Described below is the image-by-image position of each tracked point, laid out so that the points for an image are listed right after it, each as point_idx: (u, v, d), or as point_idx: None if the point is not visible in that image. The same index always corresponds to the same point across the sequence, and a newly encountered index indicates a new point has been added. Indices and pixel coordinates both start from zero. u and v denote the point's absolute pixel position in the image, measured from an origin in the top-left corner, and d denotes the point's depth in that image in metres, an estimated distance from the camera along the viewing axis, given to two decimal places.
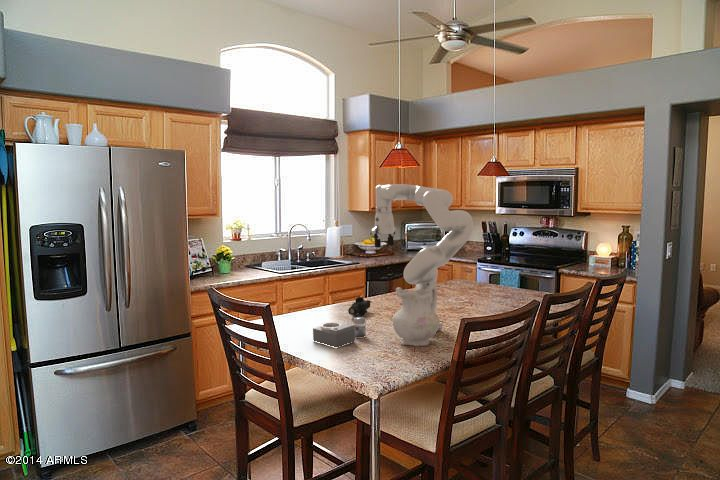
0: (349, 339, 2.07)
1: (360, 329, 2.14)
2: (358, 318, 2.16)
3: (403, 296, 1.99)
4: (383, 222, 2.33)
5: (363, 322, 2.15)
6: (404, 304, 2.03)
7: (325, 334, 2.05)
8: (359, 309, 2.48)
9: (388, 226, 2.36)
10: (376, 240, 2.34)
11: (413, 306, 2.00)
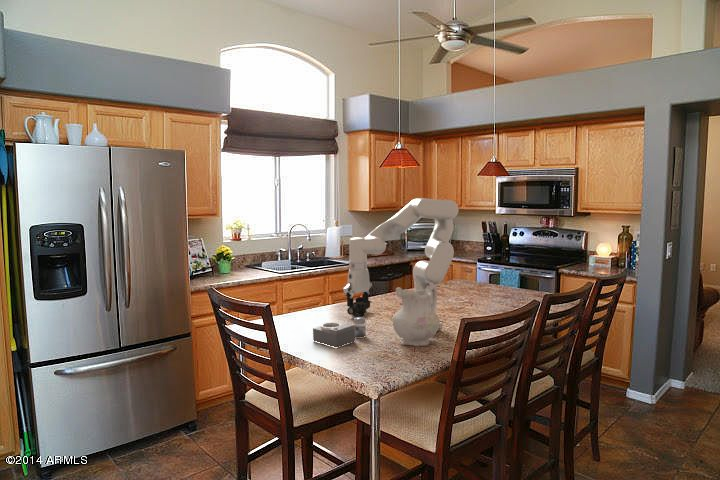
0: (349, 339, 2.07)
1: (360, 329, 2.14)
2: (358, 318, 2.16)
3: (403, 296, 1.99)
4: (357, 279, 2.10)
5: (363, 322, 2.15)
6: (404, 304, 2.03)
7: (325, 334, 2.05)
8: (358, 309, 2.49)
9: (362, 283, 2.13)
10: (348, 299, 2.11)
11: (413, 306, 2.00)
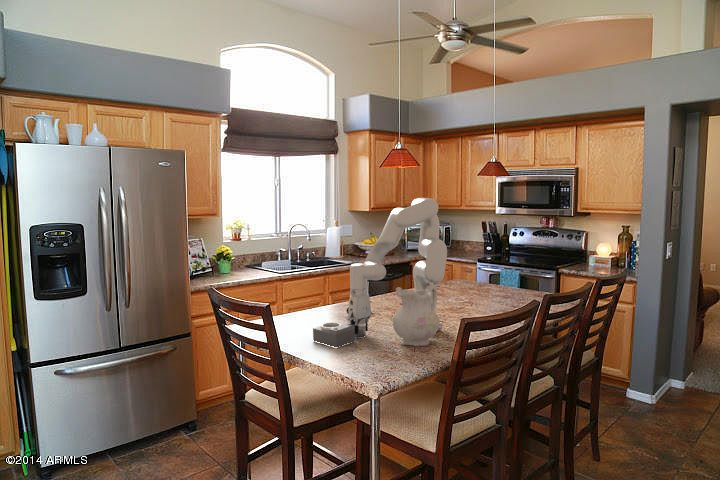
0: (349, 339, 2.07)
1: (360, 329, 2.14)
2: None
3: (403, 296, 1.99)
4: (358, 306, 2.11)
5: (363, 322, 2.15)
6: (404, 304, 2.03)
7: (325, 334, 2.05)
8: None
9: (364, 309, 2.14)
10: None
11: (413, 306, 2.00)
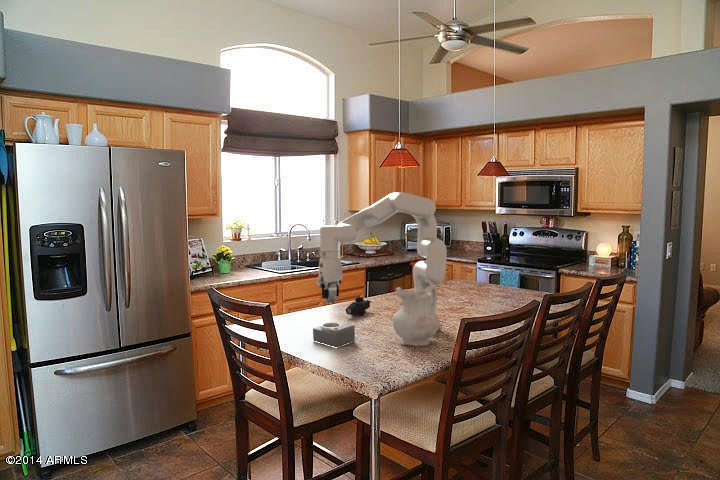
0: (349, 339, 2.07)
1: (330, 293, 2.06)
2: None
3: (403, 296, 1.99)
4: (328, 268, 2.03)
5: (334, 286, 2.06)
6: (404, 304, 2.03)
7: (325, 334, 2.05)
8: (357, 309, 2.49)
9: (334, 272, 2.06)
10: (323, 290, 2.05)
11: (413, 306, 2.00)
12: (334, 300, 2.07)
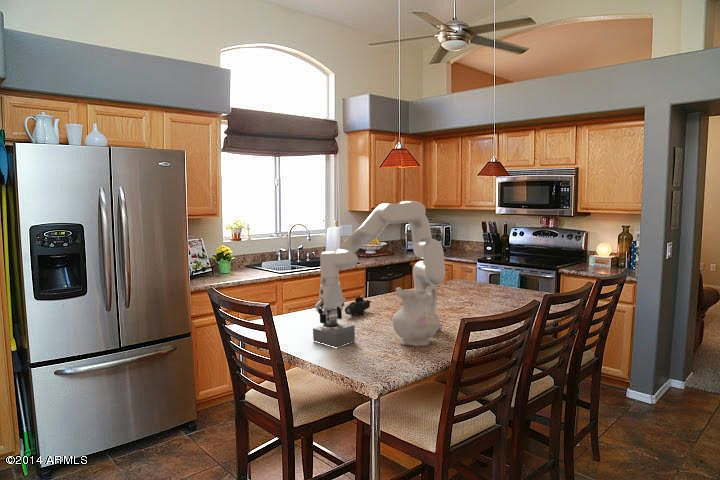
0: (349, 339, 2.07)
1: (331, 320, 2.07)
2: (329, 309, 2.09)
3: (403, 296, 1.99)
4: (328, 295, 2.04)
5: (334, 313, 2.08)
6: (404, 304, 2.03)
7: (325, 334, 2.05)
8: (356, 309, 2.49)
9: (335, 299, 2.07)
10: (321, 315, 2.05)
11: (413, 306, 2.00)
12: None
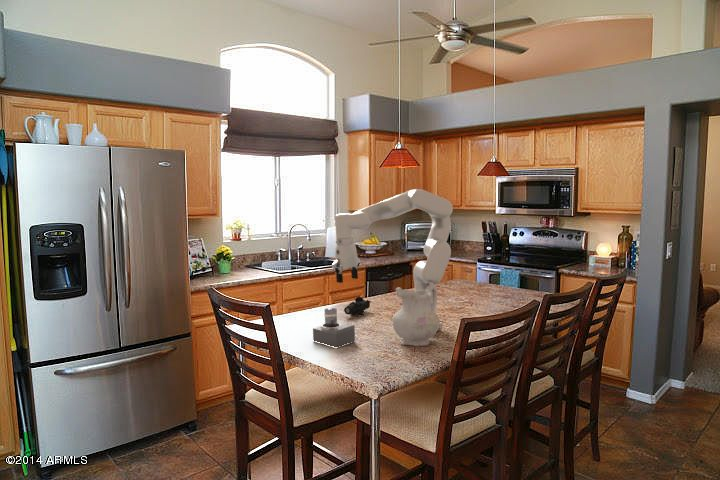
0: (349, 339, 2.07)
1: (331, 320, 2.07)
2: (329, 308, 2.09)
3: (403, 296, 1.99)
4: (344, 255, 2.11)
5: (334, 312, 2.08)
6: (404, 304, 2.03)
7: (325, 334, 2.05)
8: (355, 309, 2.49)
9: (350, 259, 2.14)
10: (338, 275, 2.12)
11: (413, 306, 2.00)
12: (335, 326, 2.08)
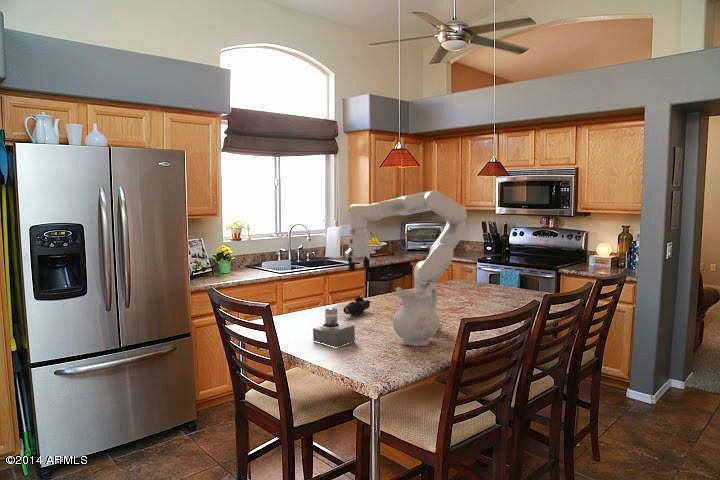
0: (349, 339, 2.07)
1: (331, 320, 2.07)
2: (330, 308, 2.09)
3: (403, 296, 1.99)
4: (357, 244, 2.18)
5: (335, 313, 2.08)
6: (404, 304, 2.03)
7: (325, 334, 2.05)
8: (355, 309, 2.49)
9: (363, 248, 2.21)
10: (350, 263, 2.19)
11: (413, 306, 2.00)
12: None
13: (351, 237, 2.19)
